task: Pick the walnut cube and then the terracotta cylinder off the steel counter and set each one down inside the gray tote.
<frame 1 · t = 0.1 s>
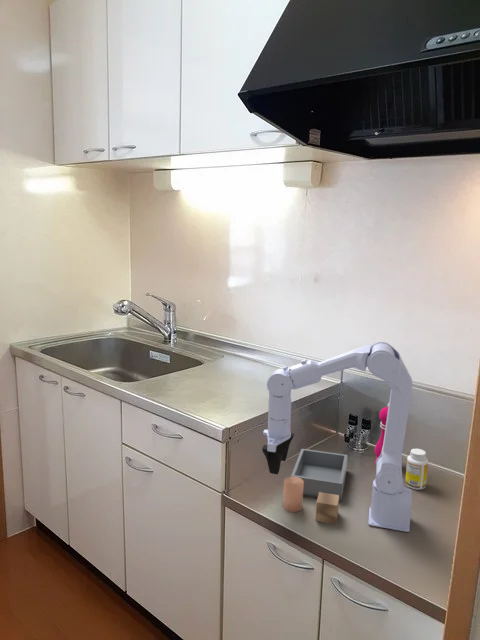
hand: (277, 466, 130), 10 cm above the worktop, fingers open, 7 cm apart
pepper mill: (385, 465, 152), on the worktop
gray tote: (319, 481, 142), on the worktop
supplement bottle: (415, 486, 141), on the worktop
terracotta cylinder: (292, 506, 129), on the worktop
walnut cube: (327, 517, 125), on the worktop
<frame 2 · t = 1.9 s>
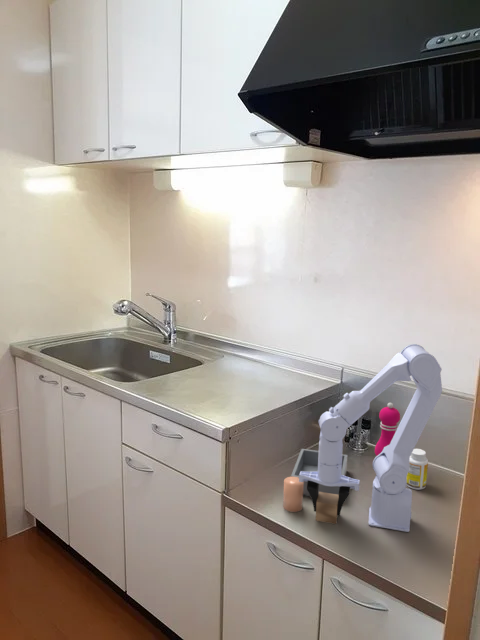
hand: (327, 511, 125), 1 cm above the worktop, fingers closed on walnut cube, 5 cm apart
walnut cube: (327, 516, 125), on the worktop, touching gripper
everything else where it was.
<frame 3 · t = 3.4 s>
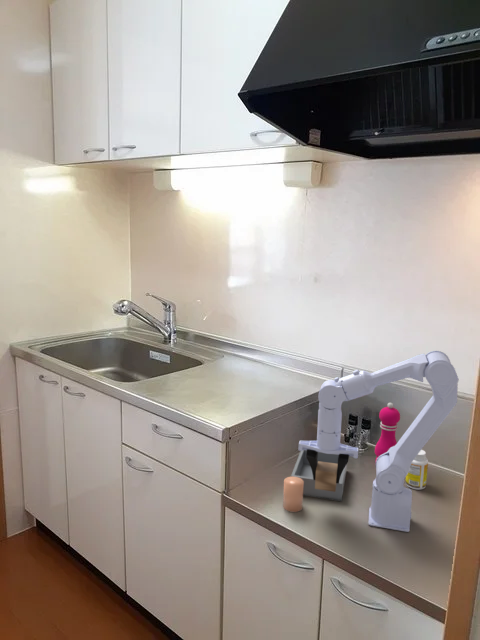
hand: (326, 479, 126), 8 cm above the worktop, fingers closed on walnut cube, 5 cm apart
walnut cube: (326, 485, 126), point 7 cm above the worktop, touching gripper
everything else where it was.
when the fingers open (5 cm above the worktop, at t = 5.2 s): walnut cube drops 3 cm, resting on gray tote.
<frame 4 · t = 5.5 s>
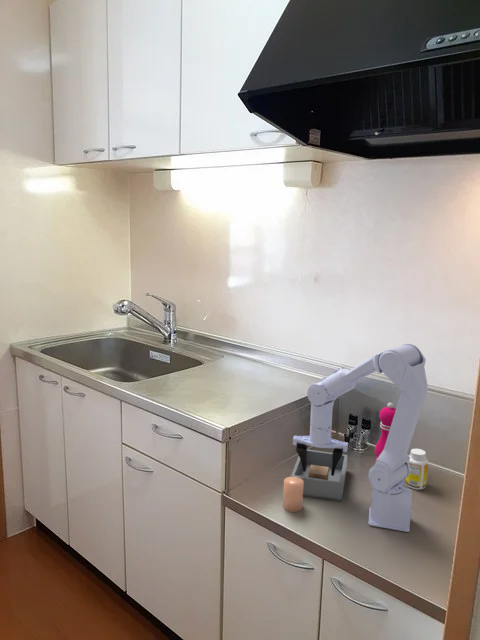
hand: (318, 471, 137), 5 cm above the worktop, fingers open, 7 cm apart
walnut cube: (317, 486, 138), point 1 cm above the worktop, touching gray tote
everything else where it was.
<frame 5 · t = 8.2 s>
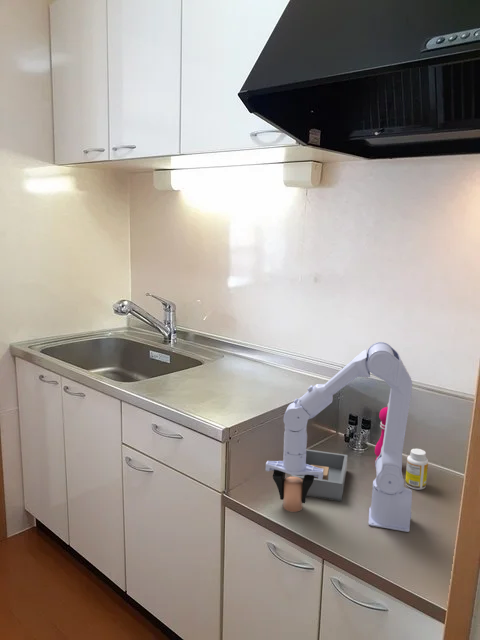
hand: (293, 499, 129), 2 cm above the worktop, fingers closed on terracotta cylinder, 5 cm apart
terracotta cylinder: (292, 506, 129), on the worktop, touching gripper
everything else where it was.
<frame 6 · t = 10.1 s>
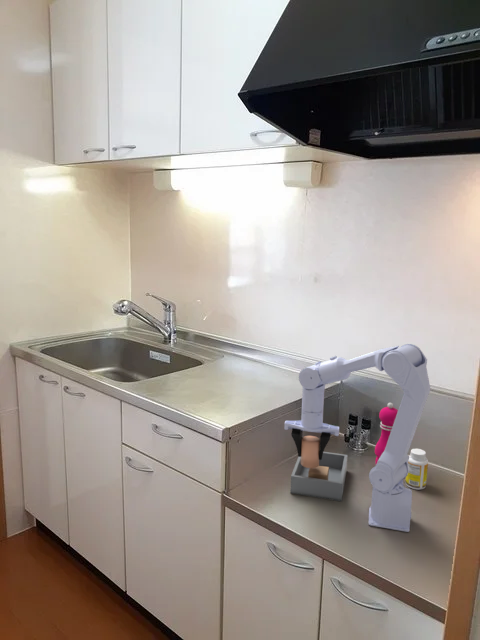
hand: (310, 456, 136), 9 cm above the worktop, fingers closed on terracotta cylinder, 5 cm apart
terracotta cylinder: (309, 463, 137), point 7 cm above the worktop, touching gripper
everything else where it was.
when the fingers open (5 cm above the worktop, at t = 12.0 s): terracotta cylinder drops 2 cm, resting on gray tote.
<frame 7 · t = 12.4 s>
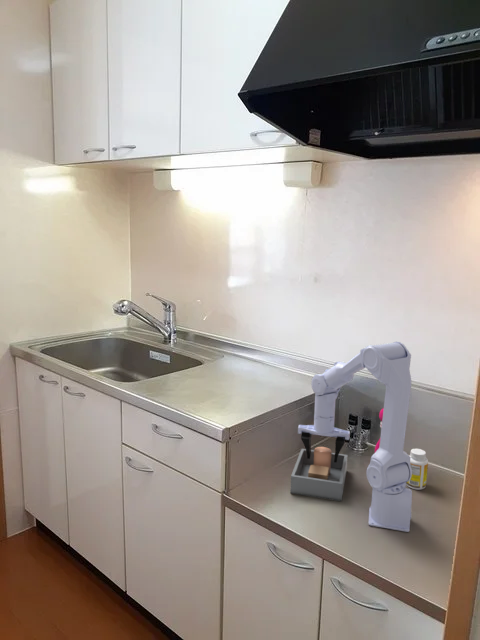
hand: (322, 459, 145), 5 cm above the worktop, fingers open, 7 cm apart
terracotta cylinder: (321, 473, 146), point 1 cm above the worktop, touching gray tote
everything else where it was.
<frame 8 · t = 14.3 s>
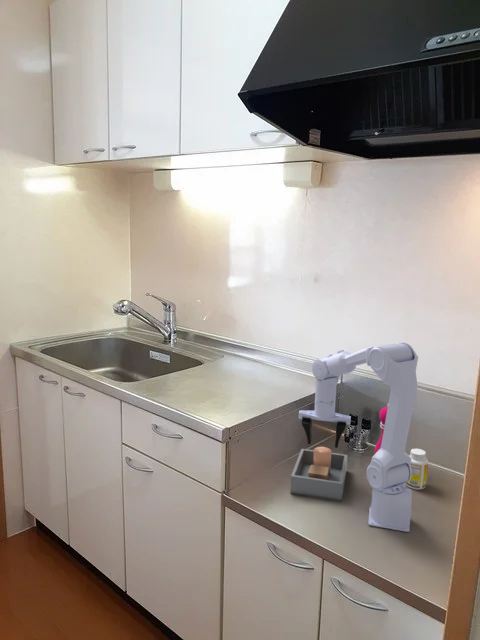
hand: (323, 444, 144), 9 cm above the worktop, fingers open, 7 cm apart
nothing on the worktop moved.
at the end: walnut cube inside the target area on the gray tote (4.2 cm from its centre), point 0.6 cm above the gray tote's base; terracotta cylinder inside the target area on the gray tote (3.9 cm from its centre), point 0.6 cm above the gray tote's base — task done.
